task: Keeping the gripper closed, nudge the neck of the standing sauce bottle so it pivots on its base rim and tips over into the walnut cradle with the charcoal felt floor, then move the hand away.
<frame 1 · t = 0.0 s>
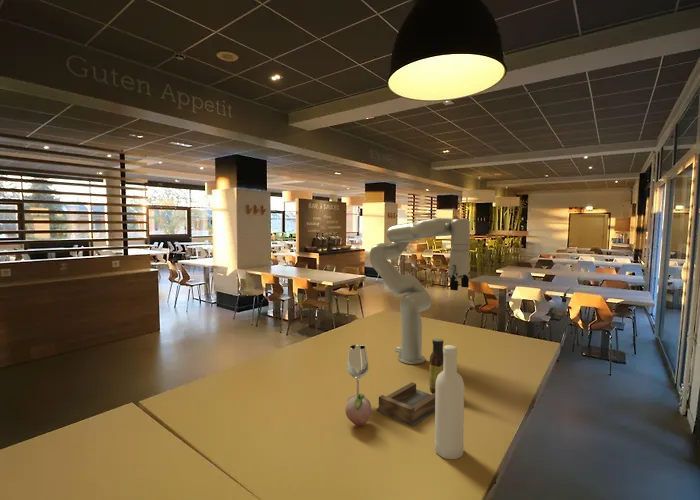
hand: (459, 288, 158), 37 cm above the table, tool pointing down, fingers open, 9 cm apart
cradle: (412, 406, 131), on the table
sauce bottle: (437, 391, 143), on the table
bottle: (448, 451, 105), on the table
wineglass: (357, 401, 135), on the table
decorative fruit: (358, 425, 119), on the table
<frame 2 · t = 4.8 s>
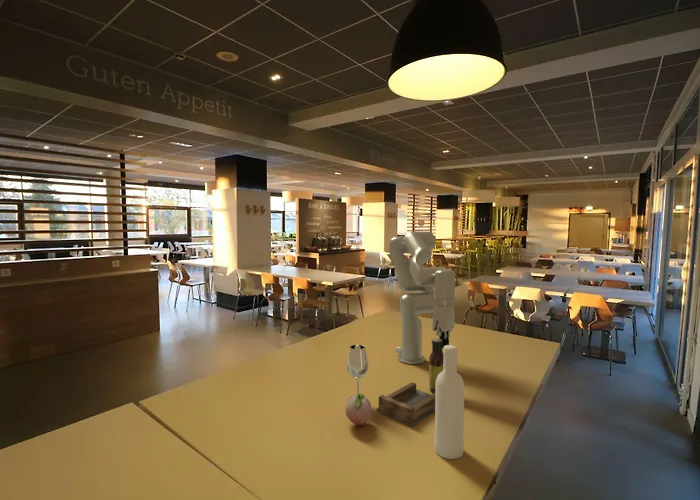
hand: (444, 347, 145), 16 cm above the table, tool pointing down, fingers closed
nothing on the table moved.
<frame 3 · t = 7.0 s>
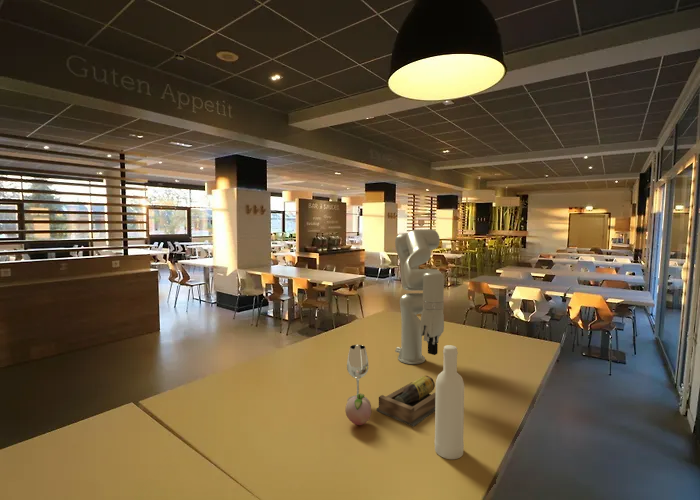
hand: (432, 353, 139), 16 cm above the table, tool pointing down, fingers closed
sauce bottle: (428, 381, 141), point 4 cm above the table, touching cradle
everything else where it was.
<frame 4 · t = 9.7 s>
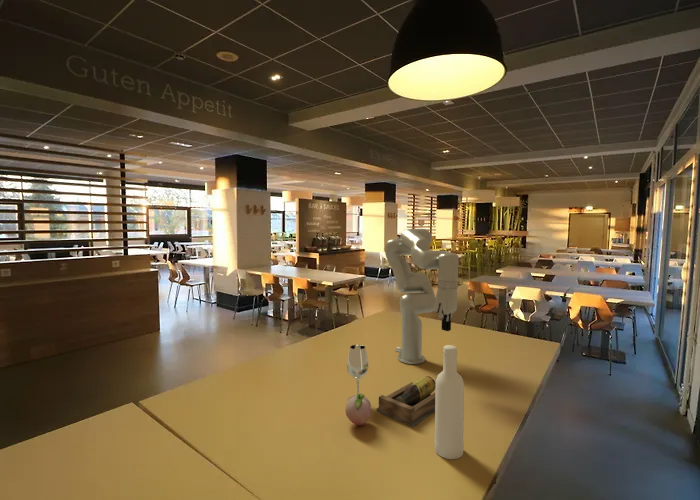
hand: (446, 330, 148), 22 cm above the table, tool pointing down, fingers closed
nothing on the table moved.
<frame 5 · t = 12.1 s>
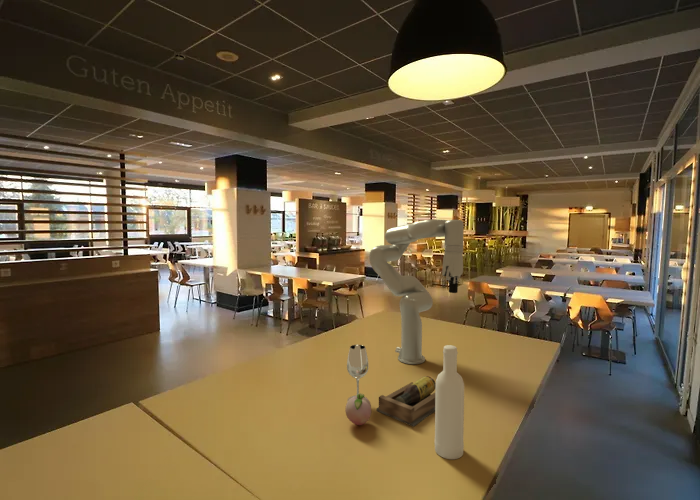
hand: (453, 292, 158), 35 cm above the table, tool pointing down, fingers closed
nothing on the table moved.
at the end: sauce bottle tilted 93°; sauce bottle inside the target area (10.0 cm from its centre), point 4.2 cm above the table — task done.
